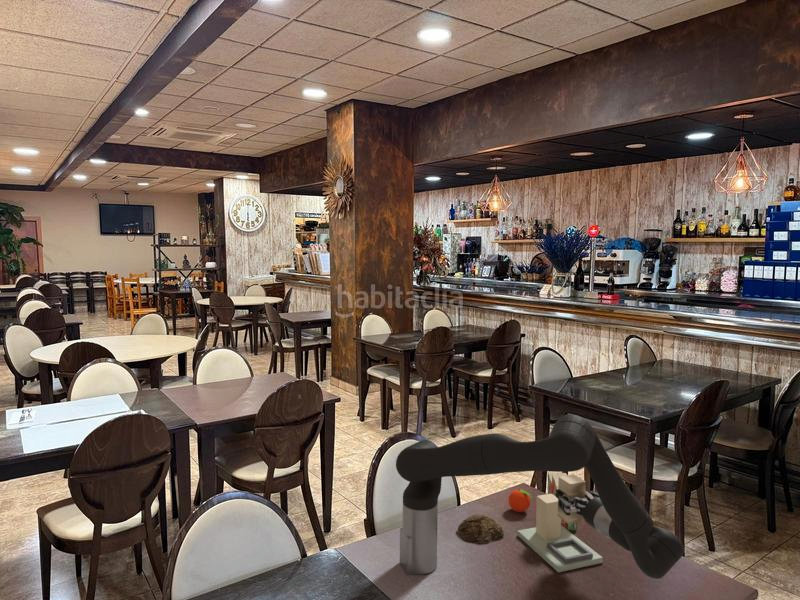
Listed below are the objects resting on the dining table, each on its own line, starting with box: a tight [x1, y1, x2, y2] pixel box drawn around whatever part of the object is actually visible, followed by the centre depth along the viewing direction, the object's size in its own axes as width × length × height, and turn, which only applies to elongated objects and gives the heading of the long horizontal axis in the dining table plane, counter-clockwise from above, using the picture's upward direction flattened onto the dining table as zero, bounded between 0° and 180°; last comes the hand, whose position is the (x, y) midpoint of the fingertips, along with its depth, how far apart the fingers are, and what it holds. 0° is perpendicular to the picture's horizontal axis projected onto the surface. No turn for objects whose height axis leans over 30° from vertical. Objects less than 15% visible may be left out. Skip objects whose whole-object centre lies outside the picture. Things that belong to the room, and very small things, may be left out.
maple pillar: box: [558, 474, 587, 524], centre depth 151 cm, size 5×5×11 cm
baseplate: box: [517, 493, 604, 573], centre depth 157 cm, size 14×20×12 cm
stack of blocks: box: [547, 471, 578, 531], centre depth 178 cm, size 21×6×12 cm, turn 173°
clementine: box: [507, 488, 534, 513], centre depth 179 cm, size 8×7×7 cm
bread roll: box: [457, 514, 505, 544], centre depth 165 cm, size 13×12×5 cm
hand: (565, 491), depth 153 cm, fingers closed on maple pillar, 5 cm apart
